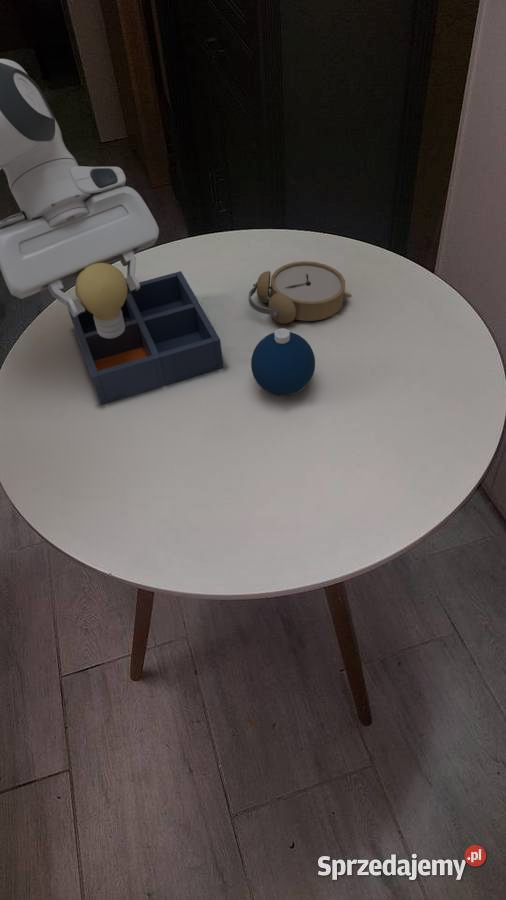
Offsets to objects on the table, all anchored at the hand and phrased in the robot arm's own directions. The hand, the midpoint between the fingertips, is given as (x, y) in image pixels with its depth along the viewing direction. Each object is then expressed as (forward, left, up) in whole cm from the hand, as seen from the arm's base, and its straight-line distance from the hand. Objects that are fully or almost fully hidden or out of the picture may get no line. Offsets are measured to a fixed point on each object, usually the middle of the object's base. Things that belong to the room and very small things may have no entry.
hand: (107, 302), depth 86 cm
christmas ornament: (+19, -11, -13) cm, 26 cm away
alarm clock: (+28, +5, -13) cm, 31 cm away
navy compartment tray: (+4, +5, -13) cm, 14 cm away
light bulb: (0, +1, -6) cm, 6 cm away
